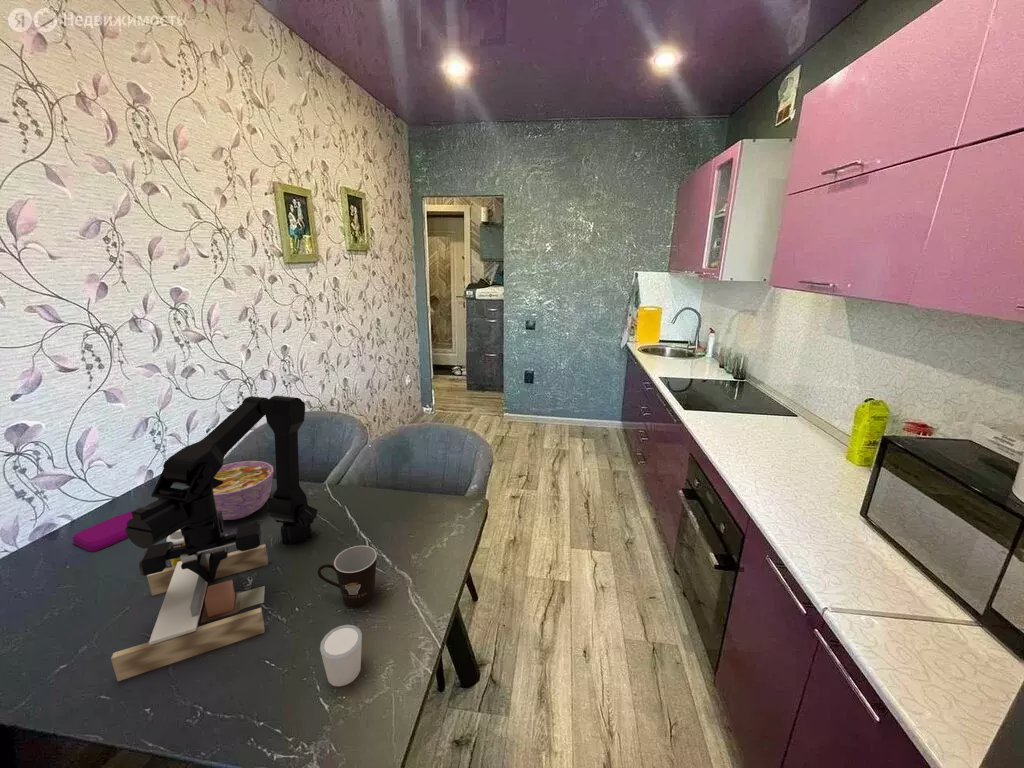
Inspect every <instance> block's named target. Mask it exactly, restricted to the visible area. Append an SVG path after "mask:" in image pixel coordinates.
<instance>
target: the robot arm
mask: <svg viewBox="0 0 1024 768" xmlns="http://www.w3.org/2000/svg"><path fill="white" fill-rule="evenodd" d="M305 403H306V402H304V401H303V400H302V399H301V398H300V397H293V396H284V395H273V396H270V398H268V397H264V396H254V395H253V396H252V395H251V396H247V397H245V398H244V399H243V400H242V402H241V404H240V405H239V406H238V407H237V408H236V409H235V410H234V411H232V412H231V413H230V414H229V415H228V416H227V417H226V418H225V419H224V420H222V421H221V422H220V423H219V424H218V425H217V426H215V428H214V429H213V430H211V432H209V433H208V434H207V435H206V436H205V437H203V438H202V439H201V440H199V441H197V442H195V443H191V444H189V445H187V446H185V447H183V448H181V449H180V450H178V451H177V452H175V453H173V454H172V455H171V456H169V457H168V458H167V459H166V461H165V462H164V463H163V465H162V468H163V469H162V472H161V473H160V476H159V477H158V479H157V482H156V485H155V487H154V489H153V491H152V492H151V495H150V496H151V498H153V499H154V498H156V499H157V500H155V501H153V502H150V503H148V504H147V505H145V506H141V507H139V508H137V509H133V510H134V511H133V510H131V511H132V513H131V514H132V519H130V520H129V521H128V522H127V527H126V528H125V530H126V534H127V536H128V538H127V539H129V541H130V542H131V543H132V544H134V545H135V546H136V547H138V548H139V549H145V551H144V553H143V554H142V557H141V559H140V561H139V562H138V563H139V564H138V569H139V571H140V573H139V574H140V576H142V577H147V575H150V574H154V573H158V572H162V571H163V570H164V569H166V568H168V567H167V566H168V562H167V561H169V560H170V559H174V558H178V557H180V559H181V560H182V565H181V568H182V569H189V570H191V571H193V572H194V573H196V574H198V575H199V576H200V577H201V578H203V579H204V580H205V581H206V582H207V583H208V585H211V584H212V585H213V584H214V583H215V580H216V579H215V576H216V571H217V568H218V566H219V564H220V561H221V560H223V559H226V558H227V555H228V553H229V548H230V546H233V545H235V546H236V551H239V550H240V551H246V550H250V549H254V548H257V547H258V546H260V545H261V540H262V539H261V538H262V530H261V525H260V523H258V522H256V521H255V522H252V523H251V522H250V523H247V524H243V525H242V524H241V525H238V526H237V528H236V533H233V534H228V533H224V531H225V530H224V520H223V516H222V511H217V509H216V504H215V498H214V493H213V489H214V488H216V487H218V486H219V485H221V484H223V481H221V480H218V479H215V478H214V477H215V475H216V474H217V473H218V471H219V470H220V469H221V467H222V466H223V464H224V460H225V456H226V455H227V454H228V453H229V451H230V450H231V449H232V448H234V447H235V446H236V444H237V443H239V442H240V441H241V439H242V438H243V437H245V435H247V433H248V432H250V431H251V430H252V429H253V428H254V426H255V425H257V423H259V421H261V419H263V417H265V419H266V423H267V424H268V426H269V427H270V429H271V430H272V432H273V433H274V452H275V454H274V455H275V474H276V475H275V476H276V477H275V478H276V479H275V480H276V489H275V491H274V493H273V495H272V496H269V498H268V499H267V501H266V502H267V511H266V513H267V514H269V516H270V518H272V519H273V520H274V521H275V523H282V525H281V526H280V535H281V541H282V545H299V544H302V543H305V542H307V541H308V540H310V539H312V538H313V534H312V531H313V529H312V525H311V524H313V523H314V520H315V519H316V518H317V515H318V509H317V508H314V507H312V506H309V504H308V503H309V502H308V498H307V497H308V496H307V494H306V493H305V491H304V489H302V487H301V486H300V467H299V463H300V462H299V439H298V438H299V437H298V436H299V432H298V431H299V430H300V428H302V427H301V426H302V425H303V423H304V422H305V415H306V404H305ZM173 485H179V486H184V487H185V488H183V489H182V488H175V487H172V486H173ZM179 529H180V530H181V533H182V536H183V537H184V542H185V545H184V546H179V547H175V548H174V545H173V542H171V541H170V542H162V543H160V542H161V541H163V540H165V539H167V537H168V536H169V535H171V534H173V533H174V532H176V531H178V530H179ZM223 533H224V534H223ZM208 551H209V552H210V553H209V554H210V558H209V565H208V562H207V559H206V552H208ZM170 561H171V560H170Z"/></svg>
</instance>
